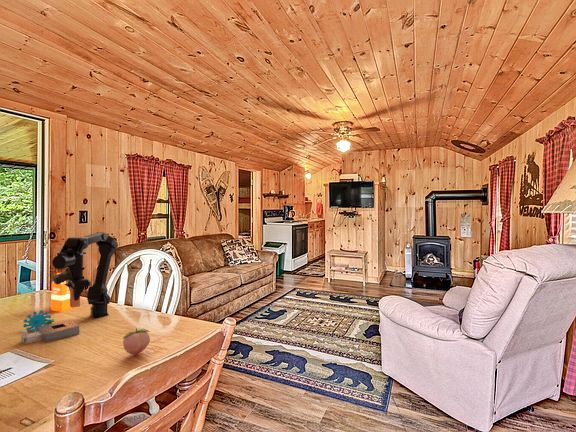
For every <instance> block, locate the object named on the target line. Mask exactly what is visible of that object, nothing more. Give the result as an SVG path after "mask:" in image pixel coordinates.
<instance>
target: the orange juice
mask: <svg viewBox="0 0 576 432" xmlns="http://www.w3.org/2000/svg"><path fill="white" fill-rule="evenodd" d="M59 273H60V272H58V273H56V275H57V274H59ZM64 284H66V281H64V282H63V283H61V284H58V285H56V284H54V282H53V281H52V282H51V295H50V296H51V298H50V299H51V311H53V312H60V313H63V312H66V311H69V310H73V309H75V308H77V307H74V308H72V307H70V290H69V288H68V287H67V286H66V285H64Z"/></svg>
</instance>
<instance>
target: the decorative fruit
mask: <svg viewBox="0 0 576 432" xmlns="http://www.w3.org/2000/svg"><path fill="white" fill-rule="evenodd" d="M149 332H150V330H148V329H147V328H141V329H138V328H135V330H133V331H132V330H131V331H130V332H127V333H126V334H125V335H124V336H122V337H123V338H122V339H123V341H122V345H123V348H124V350H125V352H126V353H127V354H130V355H134V356H136V355H139V354H140V353H142V352H143V351H144V350H146V348H147V347H148V345H149V344H150V340H151V338H150V337H151V336H150V335H149Z"/></svg>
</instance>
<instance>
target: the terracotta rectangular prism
mask: <svg viewBox="0 0 576 432" xmlns="http://www.w3.org/2000/svg"><path fill="white" fill-rule="evenodd" d="M80 306H81V296H80V297H79V299H78V300H76V301H75V299H74V293H73V289H72V288H70V307H72V308H73V309H75V308H74V307H76V308H79V307H80Z"/></svg>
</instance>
